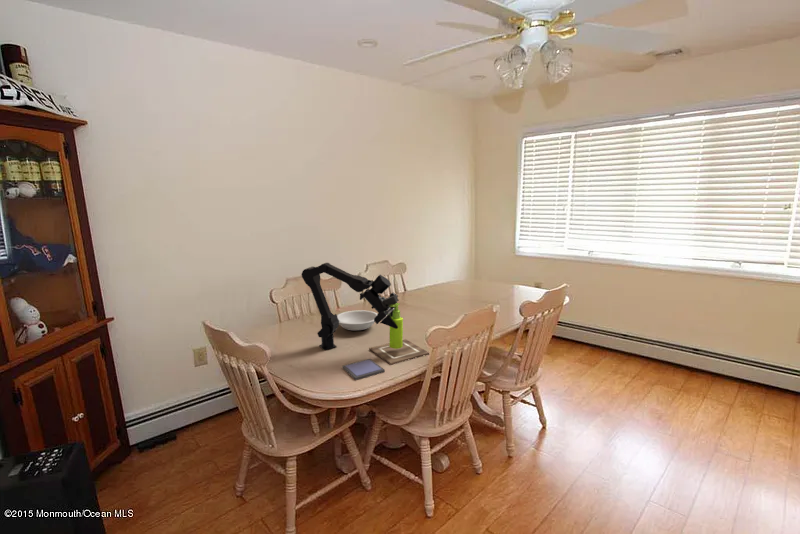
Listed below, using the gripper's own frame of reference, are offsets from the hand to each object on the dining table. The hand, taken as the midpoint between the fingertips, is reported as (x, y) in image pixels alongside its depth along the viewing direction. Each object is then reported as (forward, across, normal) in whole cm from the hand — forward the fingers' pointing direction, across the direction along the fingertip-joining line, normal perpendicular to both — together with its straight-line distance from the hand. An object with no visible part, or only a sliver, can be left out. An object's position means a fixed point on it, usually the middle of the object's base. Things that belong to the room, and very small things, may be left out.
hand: (399, 325), depth 177 cm
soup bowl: (-13, +28, +32) cm, 44 cm away
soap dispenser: (+6, -1, +8) cm, 10 cm away
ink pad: (+2, -20, +16) cm, 26 cm away
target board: (+9, +2, +10) cm, 13 cm away
